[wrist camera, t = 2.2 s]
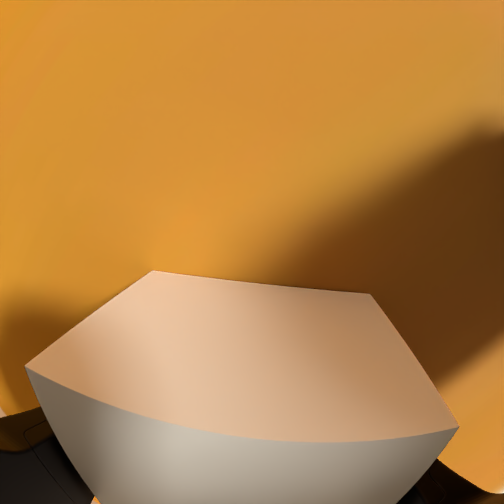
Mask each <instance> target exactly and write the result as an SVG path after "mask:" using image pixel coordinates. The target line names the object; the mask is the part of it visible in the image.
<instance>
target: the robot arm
mask: <svg viewBox="0 0 504 504" xmlns="http://www.w3.org/2000/svg"><path fill="white" fill-rule="evenodd" d="M94 496H95V495H94V494H93V493H92V491H91V490H90V489H89V487H88V486H87V484H86V483H85V482H84V480H83V479H82V477H81V476H80V474H79V473H78V472H77V470H76V469H75V467H74V465H73V464H72V462H71V461H70V459H69V458H68V456H67V454H66V453H65V451H64V449H63V448H62V446H61V444H60V442H59V441H58V439H57V437H56V435H55V433H54V432H53V430H52V428H51V426H50V424H49V422H48V420H47V418H46V416H45V414H44V412H43V410H42V408H41V406H40V407H38V408H35V409H32V410H29V411H25V412H22V413H18V414H14V415H10V416H6V417H2V418H0V504H91V502H92V500H93V498H94ZM396 504H504V493H503V494H495V493H489V492H487V491H484V490H482V489H480V488H479V487H477V486H476V485H474V484H472V483H471V482H469V481H468V480H466V479H464V478H463V477H461V476H460V475H458V474H457V473H455V472H454V471H452V470H451V469H450V468H448V467H447V466H446V465H444V464H443V463H442V462H441V461H439V460H438V459H437V458H436V460H435V461H434V462H433V463H432V465H431V466H430V467H429V468H428V469H427V471H426V472H425V473H424V474H423V475H422V476H421V478H420V479H419V480H418V481H417V482H416V483H415V484H414V485H413V487H412V488H411V489H410V490H409V491H408V492H407V493H406V494H405V495H404V496H403V497H402V498H401V499H400V500H399V501H398V502H397V503H396Z"/></svg>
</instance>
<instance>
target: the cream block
mask: <svg viewBox="0 0 504 504" xmlns="http://www.w3.org/2000/svg"><path fill="white" fill-rule="evenodd" d="M25 369H26V372H27V374H28V377H29V380H30V382H31V385H32V387H33V390H34V392H35V394H36V397H37V399H38V401H39V403H40V405H41V408H42V410H43V412H44V414H45V416H46V418H47V420H48V422H49V424H50V426H51V428H52V430H53V432H54V433H55V435H56V437H57V439H58V441H59V442H60V444H61V446H62V448H63V449H64V451H65V453H66V454H67V456H68V458H69V459H70V461H71V462H72V464H73V465H74V467H75V469H76V470H77V472H78V473H79V474H80V476H81V477H82V479H83V480H84V482H85V483H86V484H87V486H88V487H89V489H90V490H91V491H92V493H93V494H94V495H95V497H96V498H97V499H98V500H99V502H100V503H101V504H396V503H397V502H398V501H399V500H400V499H401V498H402V497H403V496H404V495H405V494H406V493H407V492H408V491H409V490H410V489H411V488H412V487H413V485H414V484H415V483H416V482H417V481H418V480H419V479H420V478H421V476H422V475H423V474H424V473H425V472H426V471H427V469H428V468H429V467H430V466H431V465H432V463H433V462H434V461H435V460H436V458H437V457H438V456H439V454H440V453H441V452H442V451H443V449H444V448H445V447H446V445H447V444H448V442H449V441H450V440H451V438H452V437H453V435H454V434H455V432H456V431H457V429H458V428H459V425H458V424H457V422H456V420H455V418H454V417H453V415H452V413H451V412H450V410H449V408H448V407H447V405H446V403H445V402H444V400H443V399H442V397H441V395H440V394H439V392H438V391H437V389H436V387H435V386H434V384H433V383H432V381H431V380H430V378H429V377H428V375H427V374H426V372H425V370H424V369H423V367H422V366H421V364H420V363H419V361H418V360H417V358H416V357H415V356H414V354H413V353H412V351H411V350H410V348H409V347H408V345H407V344H406V342H405V341H404V340H403V338H402V337H401V335H400V334H399V333H398V331H397V330H396V328H395V327H394V326H393V324H392V323H391V321H390V320H389V319H388V317H387V316H386V315H385V313H384V312H383V310H382V309H381V308H380V306H379V305H378V304H377V302H376V301H375V300H374V298H373V297H372V296H371V294H367V293H354V292H342V291H330V290H319V289H308V288H298V287H288V286H278V285H268V284H259V283H250V282H241V281H232V280H224V279H215V278H207V277H199V276H191V275H183V274H176V273H168V272H161V271H154V270H152V271H151V272H149V273H148V274H147V275H145V276H144V277H142V278H141V279H139V280H138V281H137V282H135V283H134V284H132V285H131V286H130V287H128V288H127V289H125V290H124V291H122V292H121V293H120V294H118V295H117V296H115V297H114V298H113V299H111V300H110V301H109V302H107V303H106V304H104V305H103V306H102V307H100V308H99V309H98V310H96V311H95V312H93V313H92V314H91V315H89V316H88V317H87V318H85V319H84V320H83V321H81V322H80V323H79V324H77V325H76V326H75V327H73V328H72V329H71V330H69V331H68V332H67V333H65V334H64V335H63V336H62V337H60V338H59V339H58V340H56V341H55V342H54V343H52V344H51V345H50V346H49V347H47V348H46V349H45V350H43V351H42V352H41V353H40V354H38V355H37V356H36V357H35V358H33V359H32V360H31V361H30V362H28V363H27V364H26V365H25Z"/></svg>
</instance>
